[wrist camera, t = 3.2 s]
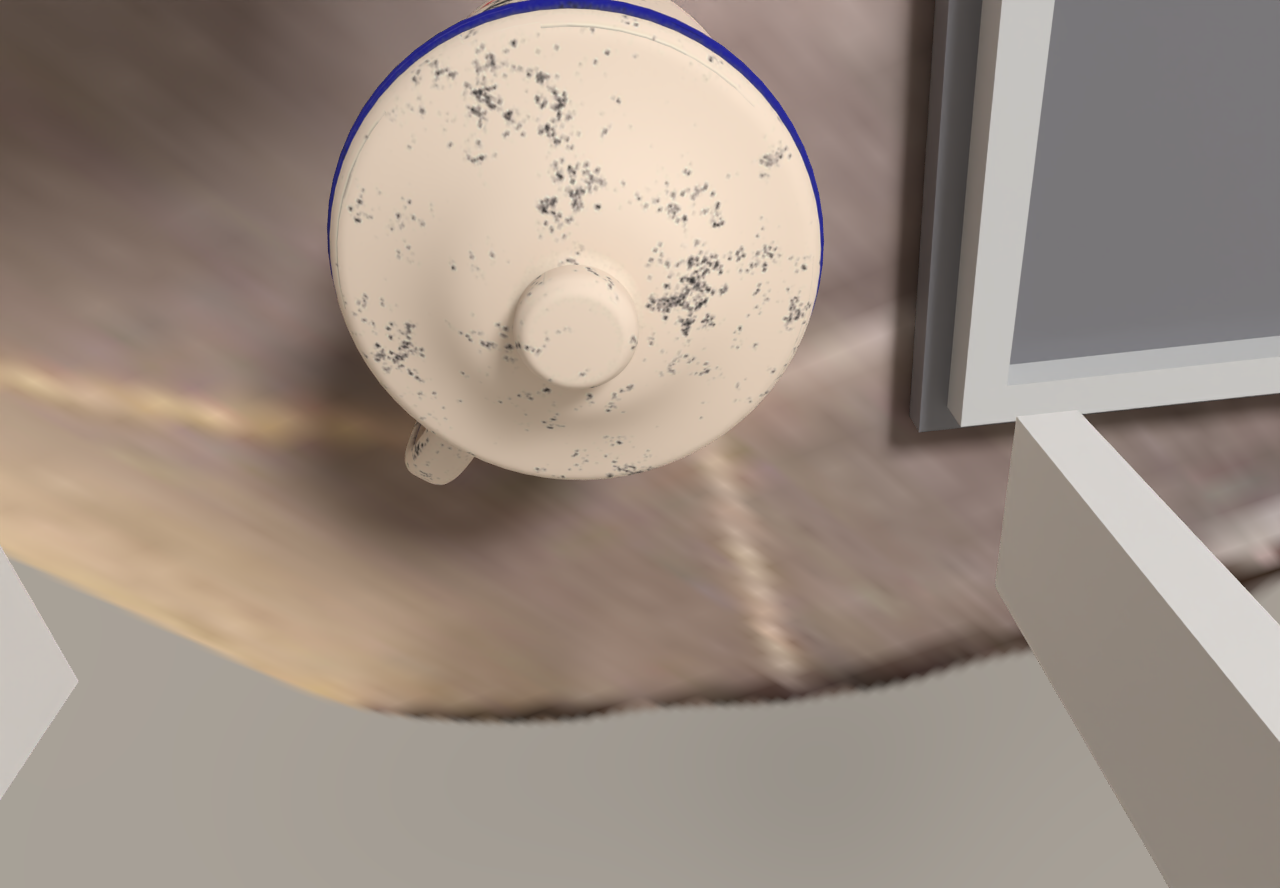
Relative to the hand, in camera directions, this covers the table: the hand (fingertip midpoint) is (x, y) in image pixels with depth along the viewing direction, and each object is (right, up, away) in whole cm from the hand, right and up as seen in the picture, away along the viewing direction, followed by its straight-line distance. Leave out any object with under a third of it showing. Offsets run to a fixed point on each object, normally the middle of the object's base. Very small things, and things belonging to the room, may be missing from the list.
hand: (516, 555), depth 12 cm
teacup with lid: (-1, +8, +13) cm, 15 cm away
